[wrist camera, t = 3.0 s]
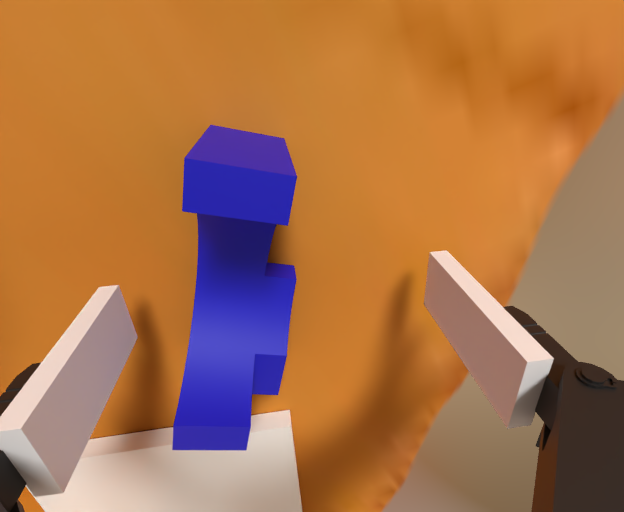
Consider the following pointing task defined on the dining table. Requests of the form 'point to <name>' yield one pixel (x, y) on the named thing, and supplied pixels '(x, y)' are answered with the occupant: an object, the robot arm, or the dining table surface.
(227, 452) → the white pad
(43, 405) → the robot arm
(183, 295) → the dining table surface
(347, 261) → the dining table surface
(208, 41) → the dining table surface
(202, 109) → the dining table surface
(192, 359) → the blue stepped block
